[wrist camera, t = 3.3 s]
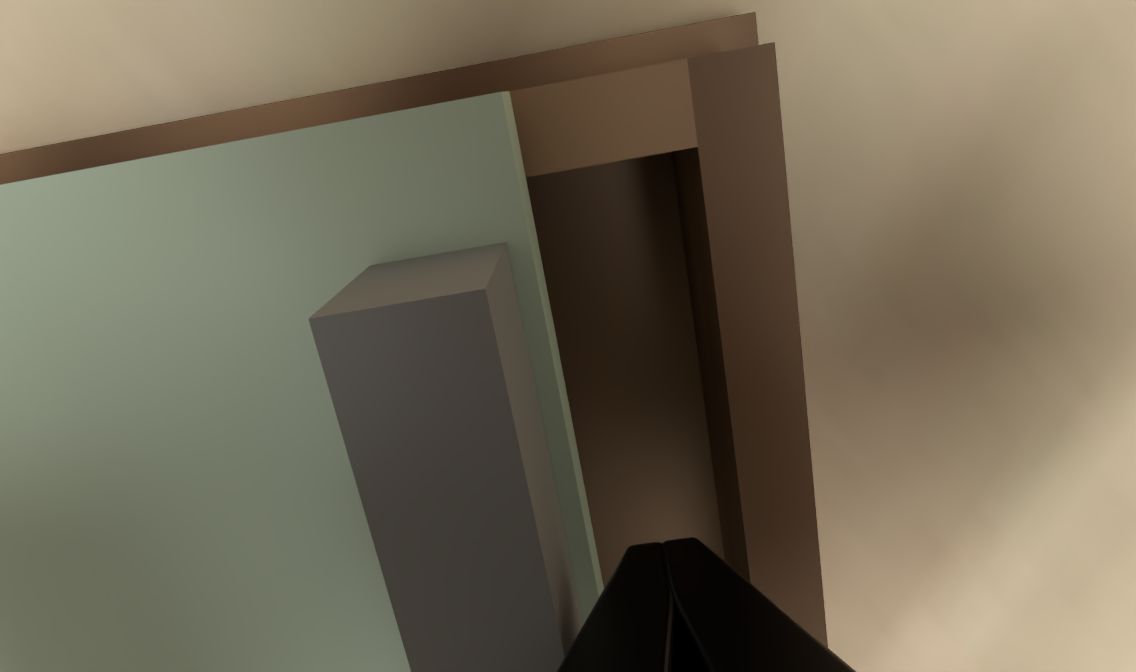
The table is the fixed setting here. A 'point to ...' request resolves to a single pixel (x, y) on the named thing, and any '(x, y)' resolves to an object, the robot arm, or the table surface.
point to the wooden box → (632, 277)
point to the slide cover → (289, 409)
